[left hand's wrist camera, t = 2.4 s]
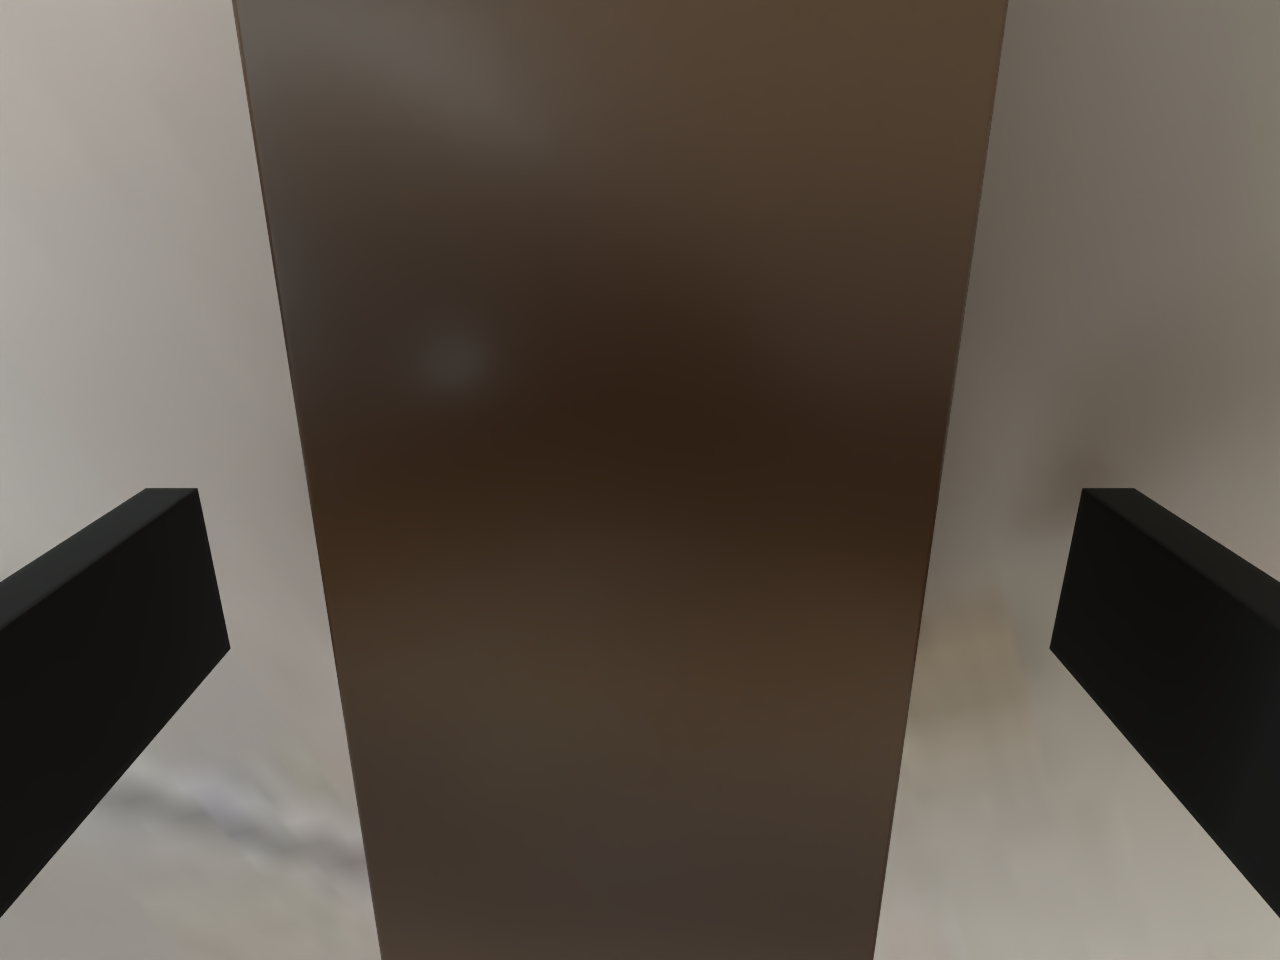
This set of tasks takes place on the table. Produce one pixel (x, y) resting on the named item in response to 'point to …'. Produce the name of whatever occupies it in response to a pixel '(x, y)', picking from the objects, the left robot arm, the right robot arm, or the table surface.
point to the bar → (623, 444)
